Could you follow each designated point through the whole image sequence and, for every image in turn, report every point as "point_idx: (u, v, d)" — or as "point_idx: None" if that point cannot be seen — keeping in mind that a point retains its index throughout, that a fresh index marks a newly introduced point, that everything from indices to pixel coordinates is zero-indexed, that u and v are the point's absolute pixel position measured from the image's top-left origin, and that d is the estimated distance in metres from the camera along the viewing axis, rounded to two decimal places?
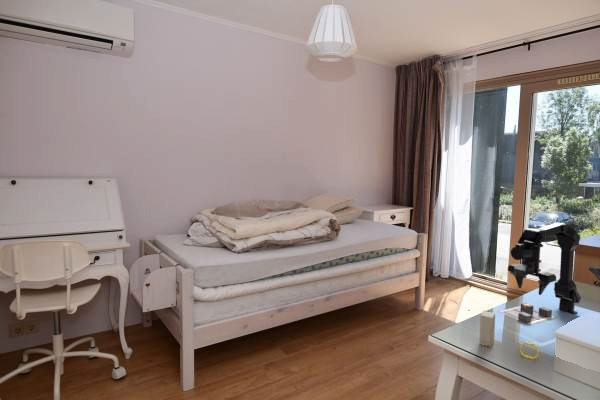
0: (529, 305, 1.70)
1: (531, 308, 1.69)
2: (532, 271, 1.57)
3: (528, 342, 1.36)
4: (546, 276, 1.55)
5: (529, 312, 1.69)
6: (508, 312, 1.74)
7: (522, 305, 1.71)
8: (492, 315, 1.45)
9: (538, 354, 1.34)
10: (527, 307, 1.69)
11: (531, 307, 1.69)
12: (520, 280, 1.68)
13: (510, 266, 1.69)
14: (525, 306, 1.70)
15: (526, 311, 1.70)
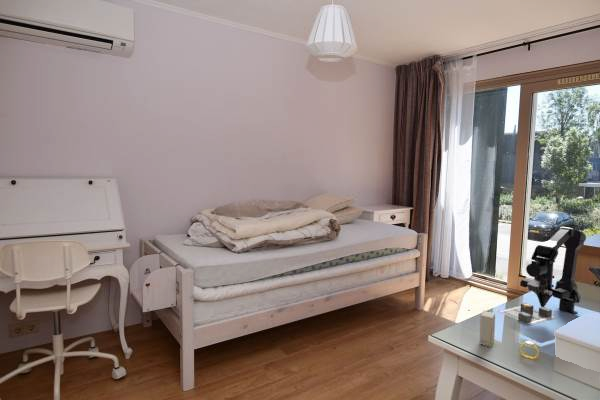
0: (529, 305, 1.70)
1: (531, 308, 1.69)
2: (546, 288, 1.57)
3: (528, 342, 1.36)
4: (560, 293, 1.55)
5: (529, 312, 1.69)
6: (508, 312, 1.74)
7: (522, 305, 1.71)
8: (492, 315, 1.45)
9: (538, 354, 1.34)
10: (527, 307, 1.69)
11: (531, 307, 1.69)
12: None
13: (522, 281, 1.70)
14: (525, 306, 1.70)
15: (526, 311, 1.70)
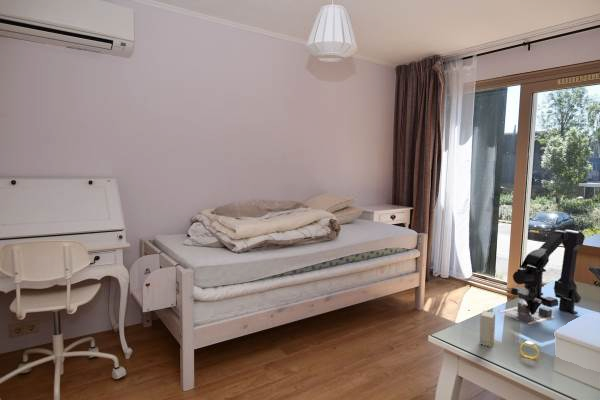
0: (526, 304, 1.71)
1: (528, 307, 1.71)
2: (535, 296, 1.62)
3: (528, 342, 1.36)
4: (548, 301, 1.59)
5: (526, 311, 1.70)
6: (508, 312, 1.74)
7: (519, 304, 1.73)
8: (492, 315, 1.45)
9: (538, 354, 1.34)
10: (524, 306, 1.71)
11: None
12: None
13: (513, 289, 1.74)
14: (522, 305, 1.71)
15: (523, 310, 1.71)
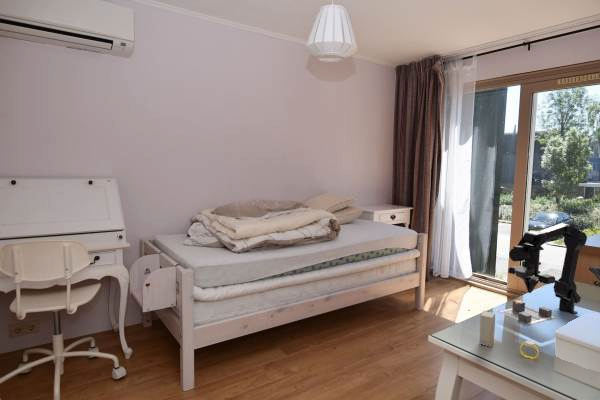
0: (521, 302, 1.74)
1: (523, 305, 1.73)
2: (532, 273, 1.62)
3: (528, 342, 1.36)
4: (546, 278, 1.60)
5: (521, 309, 1.73)
6: (508, 312, 1.74)
7: (514, 302, 1.75)
8: (492, 315, 1.45)
9: (538, 354, 1.34)
10: (519, 304, 1.73)
11: (523, 304, 1.73)
12: None
13: (510, 268, 1.75)
14: (517, 303, 1.74)
15: (518, 308, 1.73)
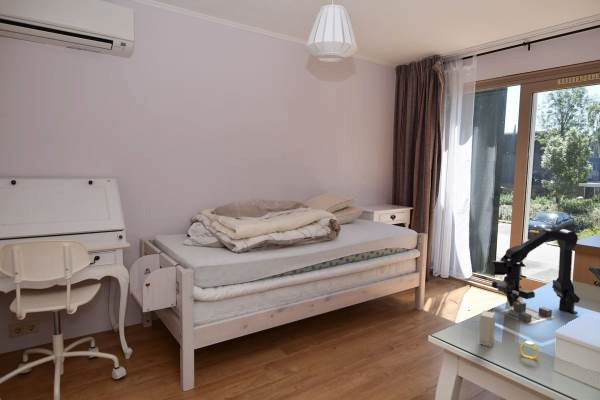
0: (522, 302, 1.73)
1: (524, 305, 1.73)
2: (513, 289, 1.71)
3: (528, 342, 1.36)
4: (525, 293, 1.69)
5: (522, 309, 1.72)
6: (508, 312, 1.74)
7: (515, 302, 1.75)
8: (492, 315, 1.45)
9: (538, 354, 1.34)
10: (520, 304, 1.72)
11: (524, 304, 1.72)
12: None
13: (494, 282, 1.84)
14: (518, 303, 1.73)
15: (519, 308, 1.73)
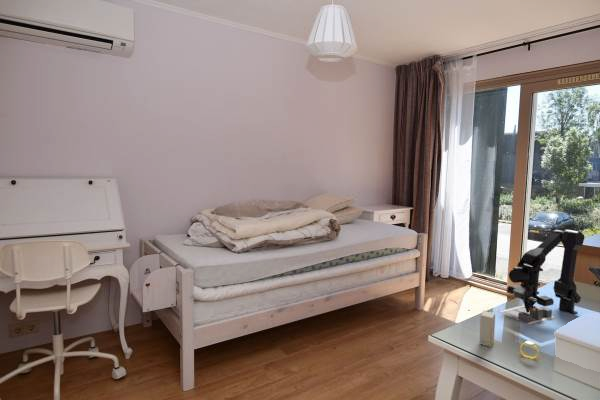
0: (538, 308, 1.66)
1: (540, 312, 1.65)
2: (531, 295, 1.64)
3: (528, 342, 1.36)
4: (544, 300, 1.61)
5: (538, 316, 1.65)
6: (508, 312, 1.74)
7: (531, 308, 1.67)
8: (492, 315, 1.45)
9: (538, 354, 1.34)
10: (536, 311, 1.65)
11: (540, 311, 1.65)
12: None
13: (509, 287, 1.76)
14: (534, 310, 1.66)
15: (535, 315, 1.66)
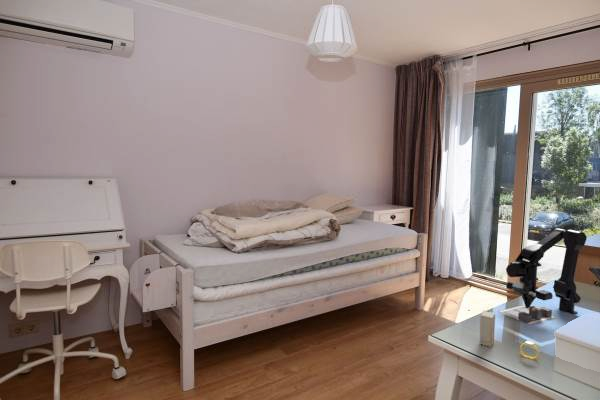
0: (538, 308, 1.66)
1: (540, 311, 1.66)
2: (530, 290, 1.65)
3: (528, 342, 1.36)
4: (543, 294, 1.62)
5: (538, 315, 1.65)
6: (508, 312, 1.74)
7: (530, 308, 1.68)
8: (492, 315, 1.45)
9: (538, 354, 1.34)
10: (536, 310, 1.66)
11: (540, 310, 1.66)
12: None
13: (508, 283, 1.77)
14: (534, 309, 1.66)
15: (535, 314, 1.66)
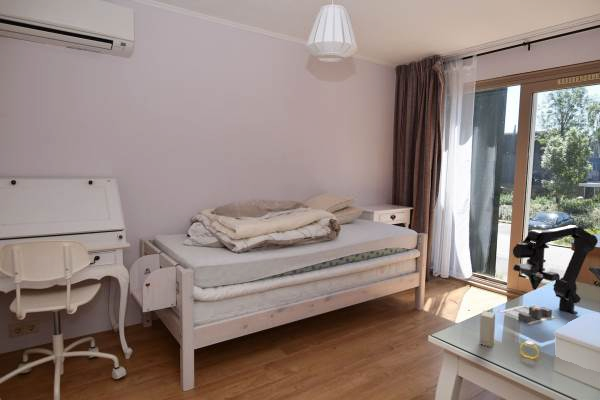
0: (538, 308, 1.66)
1: (540, 311, 1.66)
2: (537, 271, 1.66)
3: (528, 342, 1.36)
4: (550, 275, 1.64)
5: (538, 315, 1.65)
6: (508, 312, 1.74)
7: (530, 308, 1.68)
8: (492, 315, 1.45)
9: (538, 354, 1.34)
10: (536, 310, 1.66)
11: (540, 310, 1.66)
12: None
13: (516, 265, 1.79)
14: (534, 309, 1.66)
15: (535, 314, 1.66)
